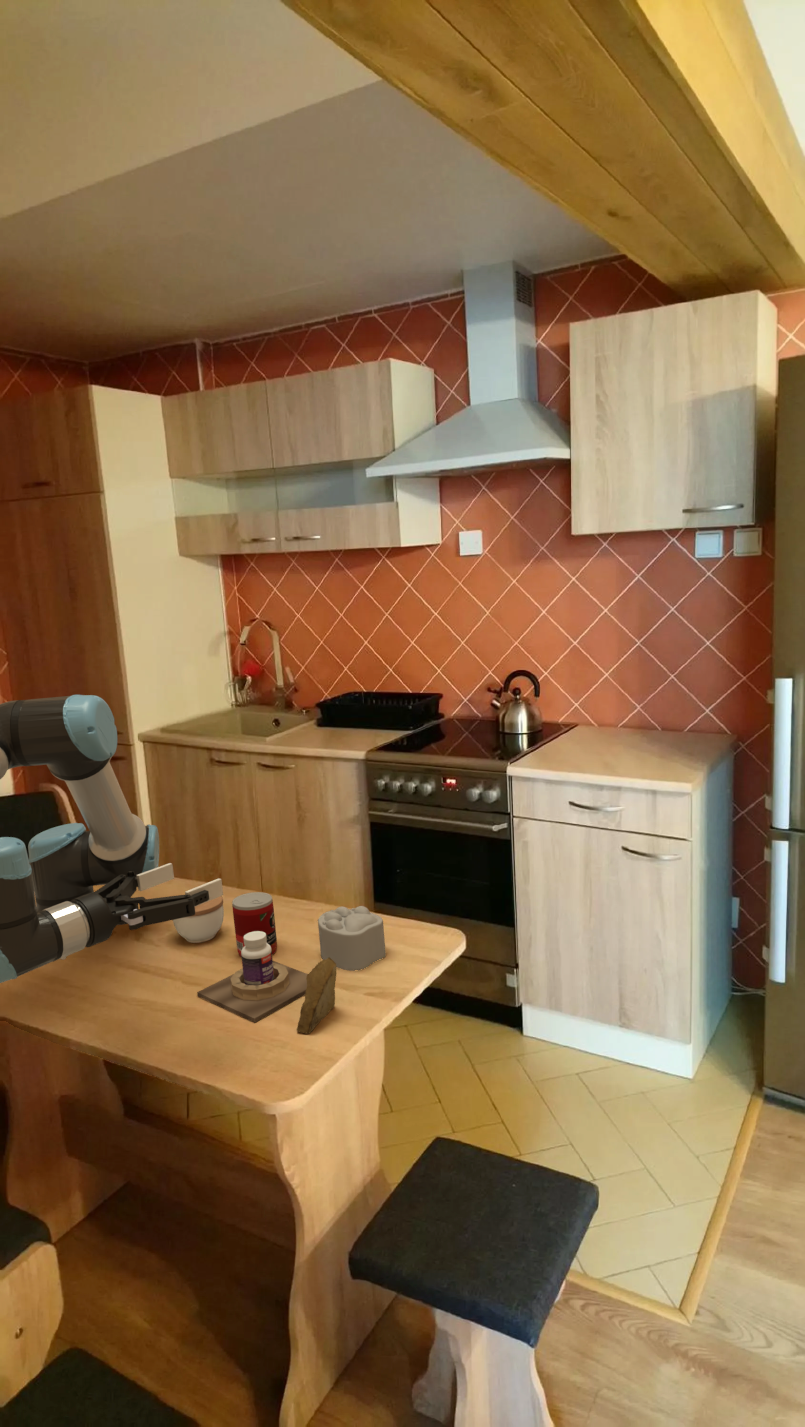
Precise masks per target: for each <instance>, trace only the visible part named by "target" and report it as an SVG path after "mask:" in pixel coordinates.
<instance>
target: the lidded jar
mask: <svg viewBox="0 0 805 1427" xmlns="http://www.w3.org/2000/svg"><path fill="white" fill-rule="evenodd" d="M224 912H225V910H224V897H223V895H222V896H220V897H218V898H215V899H213V900H210V901H208V902H206V903H203V904H201V905H198V906H196V907H195V915H193V916H189V917H184V918H179V919H175V920H172V923H173V926H174V928H175V931H177V934H179V935H180V936H181V937H182V938H183V939H185V940H186V941H187V942H188V943H193V944H199V943H205V942H208V941H210V940H212V939H214V938H215V937H216V935H217V933H218V932H219V930H220V929H221V927H222V925H223V921H224V916H225V914H224Z"/></svg>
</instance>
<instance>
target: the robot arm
mask: <svg viewBox="0 0 805 1427" xmlns="http://www.w3.org/2000/svg"><path fill="white" fill-rule="evenodd" d="M117 747H118V729H117V726H116V724H115V717H114V715H113V712H112V710H111V708H110V706H109V704H108V703H107V702H106V701H105V700H104V699H103V698H102V697H100V696H98V695H93V694H90V695H89V694H88V695H87V694H86V695H85V694H72V695H67V696H65V695H64V696H55V697H42V698H31V699H19V700H18V699H17V700H9V701H6V702H2V703H0V780H2V779H3V777H5V776H6V773H7V771H8V770H11V769H14V768H19V767H32V766H43V765H44V766H45V765H46V766H47V768H48V770H49V772H50V774H51V775H53V776H54V777H55V778H57V779H58V780H60V781H64V783H65V784H66V786H67V788H68V790H69V791H70V795H71V796H72V798H73V800H74V803H76V806H77V808H78V810H79V812H80V814H81V816H82V818H83V820H84V822H85V824H86V826H87V828H88V830H87V828H86V826H85V824H83V823H82V822H80V823H78V822H72V823H67V824H66V823H65V824H62V825H58V826H55V827H51V828H48V829H46V830H43V831H42V832H41V831H40V833H37V834H36V835H35V836H33V837H32V838H31V839H30V840H29V842H28V846H27V848H28V851H27V848H26V844H25V842H24V841H23V840H21V839H20V838H18V837H14V836H13V837H12V836H10V837H9V836H1V837H0V984H2V983H5V982H9V981H10V980H15V979H18V977H21V976H22V975H25V974H27V973H29V972H32V971H34V970H37V969H39V968H42V967H43V966H47V965H49V964H51V963H53V962H55V961H56V962H57V961H58V960H63V961H64V960H66V959H67V957H68V956H70V955H73V954H75V953H77V952H80V951H82V950H84V949H85V947H86V948H92V947H93V946H95V945H97V944H100V943H103V942H105V941H107V940H109V939H110V938H111V936H112V934H113V933H114V929H115V928H116V927H117V926H123V925H127V924H128V929H129V930H131V931H134V930H137V929H141V928H143V927H146V926H151V925H156V924H161V923H164V922H169V921H173V920H175V919H179V918H184V917H189V916H193V915H195V907H196V906H198V905H201V904H203V903H206V902H208V901H210V900H213V899H215V898H218V897H220V896H222V897H223V896H224V890H223V879H222V878H219V877H218V878H217V879H214V880H211V881H209V882H206V883H203V884H201V885H199V886H196V887H193V888H191V889H189V890H185V891H184V894H178V895H170V896H161V897H155V898H154V897H153V898H145V896H136V897H133V895H134V894H135V893H136V892H137V890H138V891H139V892H143V891H146V890H149V889H151V888H153V887H157V886H159V885H162V884H165V883H167V882H170V881H172V880H175V874H174V866H173V863H171V862H169V863H166V864H163V865H160V866H159V862H160V861H159V860H160V835H159V828H158V827H157V825H154V824H146V825H145V823H144V821H143V820H142V819H141V817H140V816H138V815H136V814H135V813H132V812H131V809H130V807H129V805H128V802H127V800H126V797H125V795H124V792H123V791H122V788H121V786H120V784H119V780H118V778H117V775H116V774H115V771H114V769H113V767H112V764H111V759H112V757H113V756H114V755H115V753H116V752H117ZM95 886H101V887H100V888H97V890H94V887H95Z"/></svg>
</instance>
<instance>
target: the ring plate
mask: <svg viewBox="0 0 805 1427" xmlns="http://www.w3.org/2000/svg"><path fill="white" fill-rule="evenodd" d="M273 970H274V980H273V981H271V982H269V983H267V984H262V985H246V984H244V976H243V967H242V968H240V969H238V970H236V971H235V972H234V973H233V974H231V975H229V976H227V977H225V978H222V979H221V980H219V981H216V982H215V983H213V984H210V985H209V986H206V987H204V988H202V989H201V990H199V991H197V993H196V994H197V997H198V998H201V999H203V1000H205V1001H206V1002H209V1003H211V1004H213V1005H215V1006H217V1007H219V1008H222V1009H224V1010H226V1011H228V1012H231V1013H232V1014H234V1015H237V1016H239V1017H241V1018H244V1019H246V1020H248V1021H249V1022H252V1023H254V1024H255V1023H258V1022H259V1021H261V1020H263V1019H265V1018H266V1017H268V1016H269V1015H272V1014H273V1013H276V1012H277V1011H279V1010H280V1009H282V1008H284V1007H286V1006H288V1005H289V1004H291V1003H292V1002H294V1001H295V1002H296V1001H297V1000H298V999H300V998H302V997H305V993H306V988H307V980H306V977H307V974H308V973H306V972H304V971H300V970H299V969H295V968H293V967H291V966H288V965H285V964H282V963H280V962H277V961H274V960H273Z"/></svg>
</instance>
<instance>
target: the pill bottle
mask: <svg viewBox="0 0 805 1427" xmlns="http://www.w3.org/2000/svg"><path fill="white" fill-rule="evenodd" d="M266 942H267V938H266V933H265V932H262V931H254V932H250V933H247V934H246V935H244V945H245V946H244V947H243V949H242V951H241V956H240V958H241V964H242V968H243V976H244V984H246V985H262V984H267V983H269V982H271V981H273V980H274V970H273V961H274V960H273V954H272V950H271V946H270V945H269V944H268V943H266Z"/></svg>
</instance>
